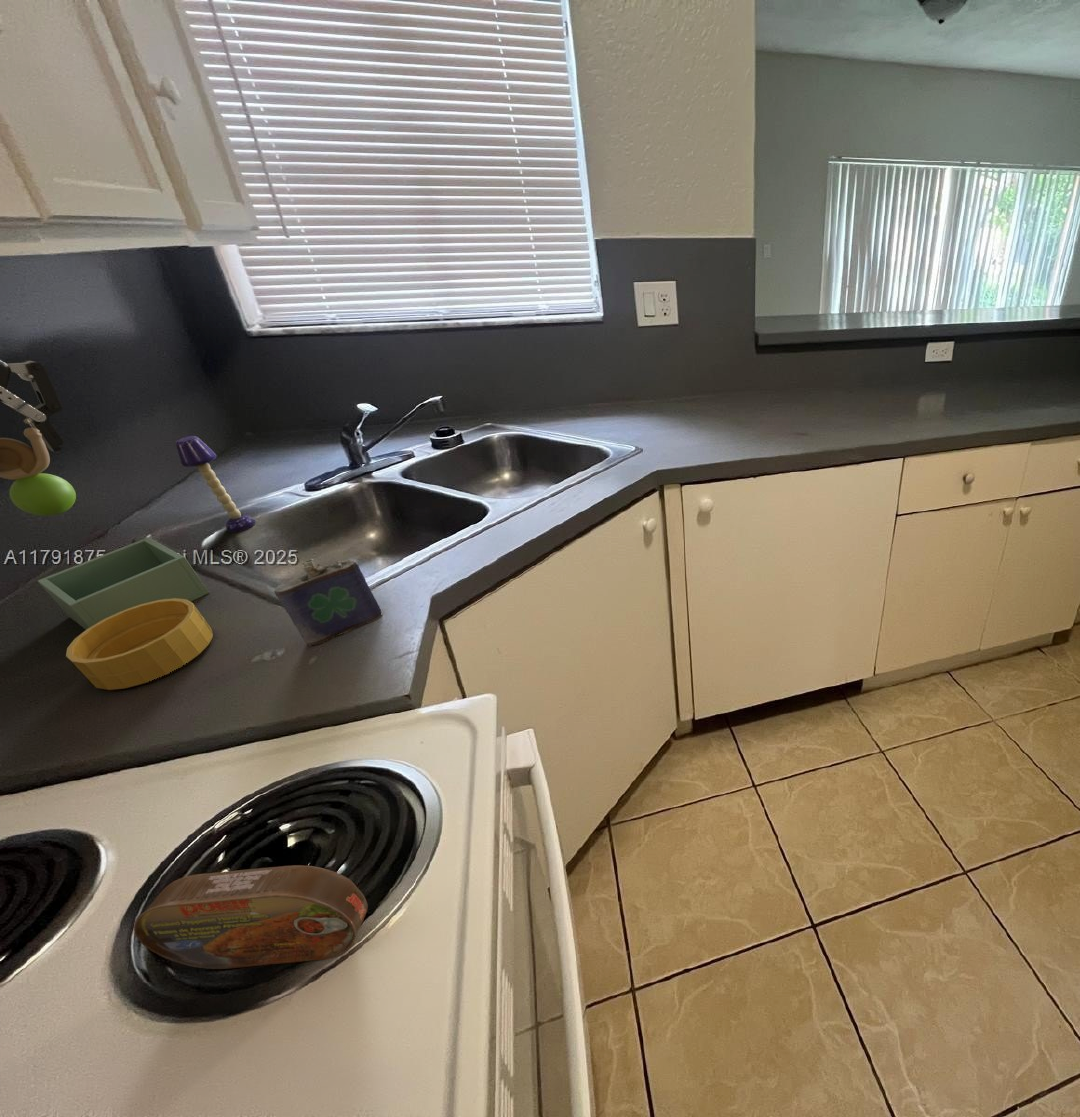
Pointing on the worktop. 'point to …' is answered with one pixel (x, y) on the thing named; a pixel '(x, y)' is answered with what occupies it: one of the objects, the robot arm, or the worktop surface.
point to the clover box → (328, 600)
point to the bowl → (140, 643)
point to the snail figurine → (33, 476)
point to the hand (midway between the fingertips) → (21, 458)
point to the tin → (253, 917)
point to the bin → (123, 582)
